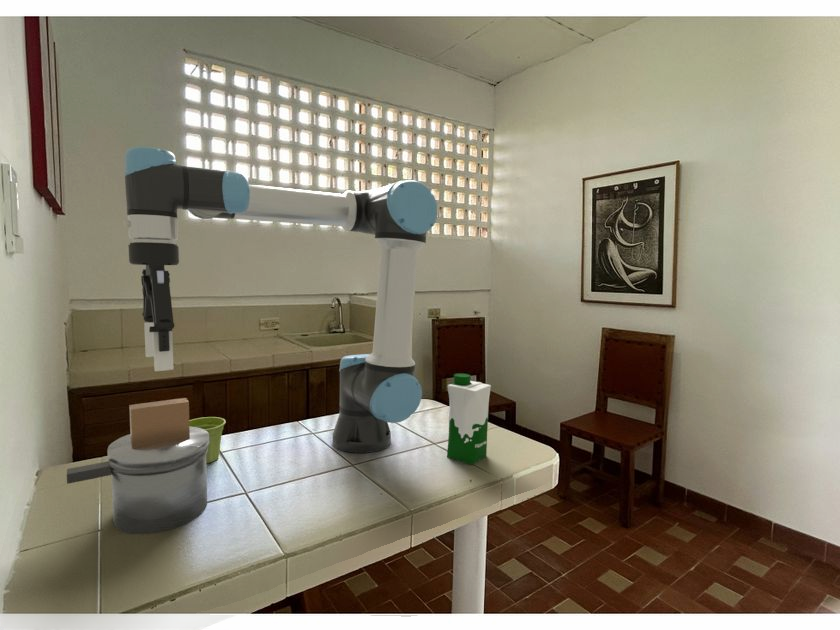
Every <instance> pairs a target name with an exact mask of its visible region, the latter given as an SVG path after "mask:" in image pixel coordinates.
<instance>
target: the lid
mask: <svg viewBox="0 0 840 630" xmlns="http://www.w3.org/2000/svg"><path fill="white" fill-rule="evenodd" d="M128 406H129V428H130V429H129V430H130V432H129V433H130V434H126V435H124V436H121V437H119V438H118V439H116V440H114V441H113V442H111V443H110V444H109V445H108V446H107V451H106V452H107V459H108V461H109V460H110V461H111V462H113V463H115V464H118V465H123V466H153V465H160V464H166V463H171V462H175V461H179V460H182V459H185V458H188V457H191V456H193V455H195V454H198V453H199V452H201V451H203V450H204V449H205V448H206V447H207V446H208V445H209V433H208V432H207V431H206V430H204V429H201V428H198V427H191V426H189V420H190V402H189V400H188V398H187V397H182V398H174V399H166V400H159V401H151V402H144V403H143V402H141V403H135V404H129V405H128Z"/></svg>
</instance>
